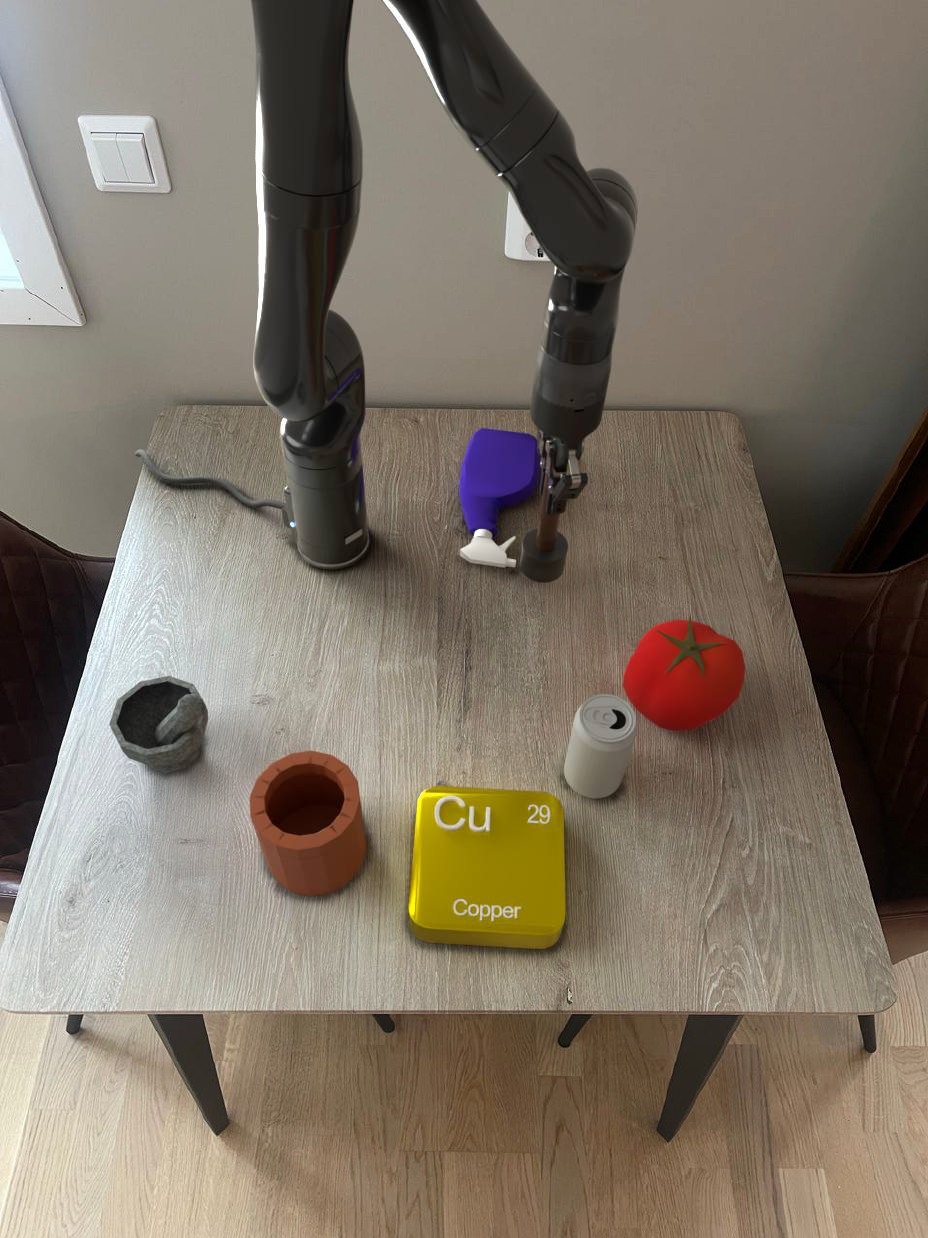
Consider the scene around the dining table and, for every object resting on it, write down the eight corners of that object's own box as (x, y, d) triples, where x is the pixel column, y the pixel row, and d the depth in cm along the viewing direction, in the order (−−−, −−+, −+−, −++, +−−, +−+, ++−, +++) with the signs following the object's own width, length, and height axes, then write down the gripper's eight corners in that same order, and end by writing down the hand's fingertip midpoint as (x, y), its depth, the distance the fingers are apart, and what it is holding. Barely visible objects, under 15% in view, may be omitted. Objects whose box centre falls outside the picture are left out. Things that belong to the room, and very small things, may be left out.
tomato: (607, 662, 111) (623, 601, 102) (716, 656, 112) (741, 595, 103) (628, 751, 104) (646, 694, 95) (744, 743, 105) (773, 686, 96)
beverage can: (618, 807, 99) (637, 750, 90) (558, 795, 100) (572, 737, 91) (623, 756, 103) (642, 696, 94) (566, 745, 104) (580, 685, 95)
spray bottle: (469, 424, 133) (442, 550, 118) (545, 433, 132) (527, 561, 118) (468, 440, 135) (442, 565, 121) (543, 448, 135) (525, 576, 120)
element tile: (407, 943, 90) (405, 925, 86) (419, 802, 99) (418, 781, 95) (561, 952, 90) (567, 934, 86) (559, 810, 99) (564, 789, 95)
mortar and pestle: (109, 768, 101) (76, 708, 91) (156, 701, 106) (129, 637, 97) (200, 802, 98) (176, 744, 89) (243, 731, 104) (224, 670, 95)
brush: (511, 569, 115) (522, 474, 103) (534, 542, 118) (548, 447, 106) (549, 589, 113) (565, 495, 101) (572, 562, 116) (590, 467, 104)
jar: (245, 859, 95) (226, 809, 86) (311, 786, 100) (299, 733, 91) (322, 916, 91) (310, 870, 83) (385, 837, 97) (381, 787, 88)
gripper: (519, 342, 97) (507, 465, 111) (551, 429, 89) (533, 550, 102) (588, 336, 98) (568, 459, 112) (626, 422, 90) (599, 543, 103)
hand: (551, 502), depth 107 cm, fingers closed on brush, 2 cm apart
